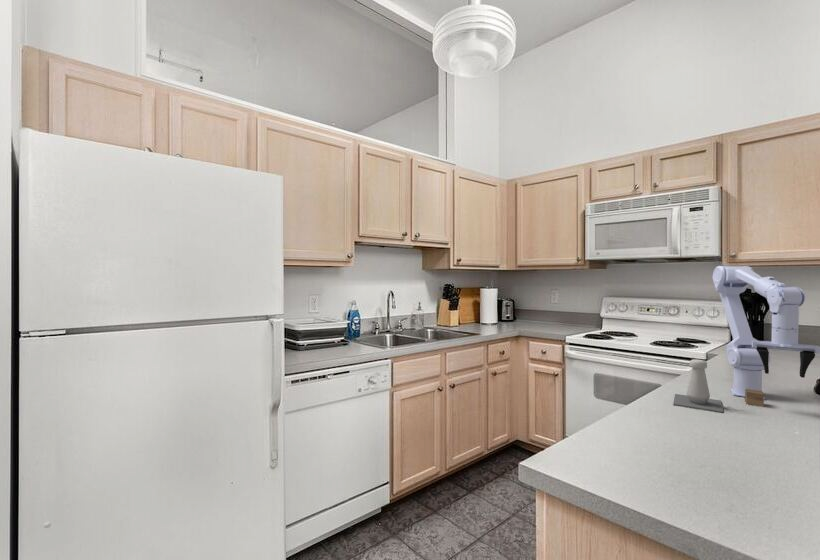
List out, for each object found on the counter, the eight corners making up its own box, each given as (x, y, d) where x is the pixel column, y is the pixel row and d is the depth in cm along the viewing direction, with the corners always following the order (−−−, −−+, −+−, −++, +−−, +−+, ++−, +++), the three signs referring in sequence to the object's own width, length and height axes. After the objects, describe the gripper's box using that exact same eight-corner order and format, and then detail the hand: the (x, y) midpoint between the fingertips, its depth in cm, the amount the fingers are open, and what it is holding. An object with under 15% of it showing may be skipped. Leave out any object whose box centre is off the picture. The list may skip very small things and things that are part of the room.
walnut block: (744, 401, 128) (745, 388, 128) (761, 403, 125) (761, 390, 125) (746, 404, 124) (746, 391, 124) (763, 407, 122) (763, 393, 122)
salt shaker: (702, 399, 127) (702, 358, 127) (714, 405, 121) (714, 362, 121) (682, 399, 128) (683, 357, 127) (693, 405, 122) (693, 361, 122)
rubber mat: (675, 395, 133) (675, 393, 133) (720, 401, 127) (721, 400, 127) (673, 405, 123) (673, 403, 123) (723, 413, 116) (723, 411, 116)
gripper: (754, 327, 119) (753, 373, 119) (823, 331, 111) (822, 381, 111) (751, 325, 125) (750, 369, 125) (816, 329, 117) (816, 376, 117)
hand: (784, 374), depth 119 cm, fingers open, 7 cm apart
